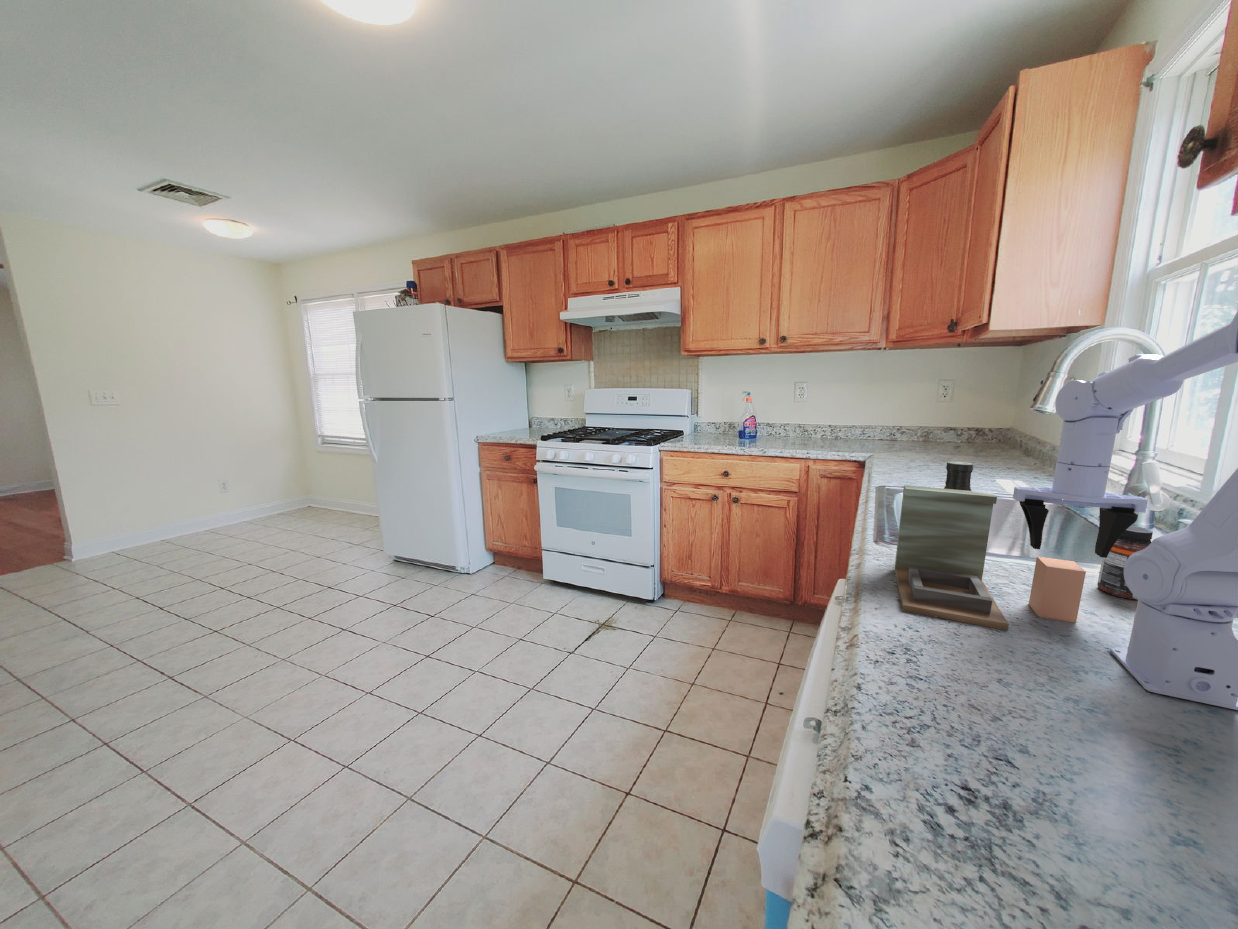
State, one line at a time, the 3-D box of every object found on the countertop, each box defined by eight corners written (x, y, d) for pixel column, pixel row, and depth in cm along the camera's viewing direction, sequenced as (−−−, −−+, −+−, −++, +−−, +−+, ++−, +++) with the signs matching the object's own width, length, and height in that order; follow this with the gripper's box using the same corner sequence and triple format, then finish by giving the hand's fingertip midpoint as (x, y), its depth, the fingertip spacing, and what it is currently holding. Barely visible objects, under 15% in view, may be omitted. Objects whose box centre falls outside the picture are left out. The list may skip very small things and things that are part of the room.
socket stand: (1007, 630, 68) (1025, 521, 65) (902, 610, 74) (914, 509, 71) (979, 582, 84) (992, 492, 81) (894, 569, 89) (904, 485, 86)
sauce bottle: (975, 572, 88) (990, 466, 85) (937, 569, 89) (951, 465, 86) (957, 559, 94) (971, 460, 91) (923, 556, 96) (935, 459, 92)
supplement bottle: (1123, 586, 82) (1138, 523, 80) (1158, 602, 77) (1175, 535, 74) (1086, 584, 83) (1099, 522, 81) (1118, 600, 77) (1133, 533, 75)
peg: (1076, 622, 70) (1085, 571, 69) (1037, 616, 72) (1046, 566, 71) (1064, 609, 74) (1073, 561, 73) (1028, 603, 76) (1036, 556, 75)
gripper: (1136, 463, 71) (1119, 550, 73) (1013, 456, 77) (1001, 536, 79) (1162, 471, 64) (1142, 566, 67) (1026, 462, 71) (1012, 549, 73)
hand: (1067, 551), depth 73 cm, fingers open, 7 cm apart
